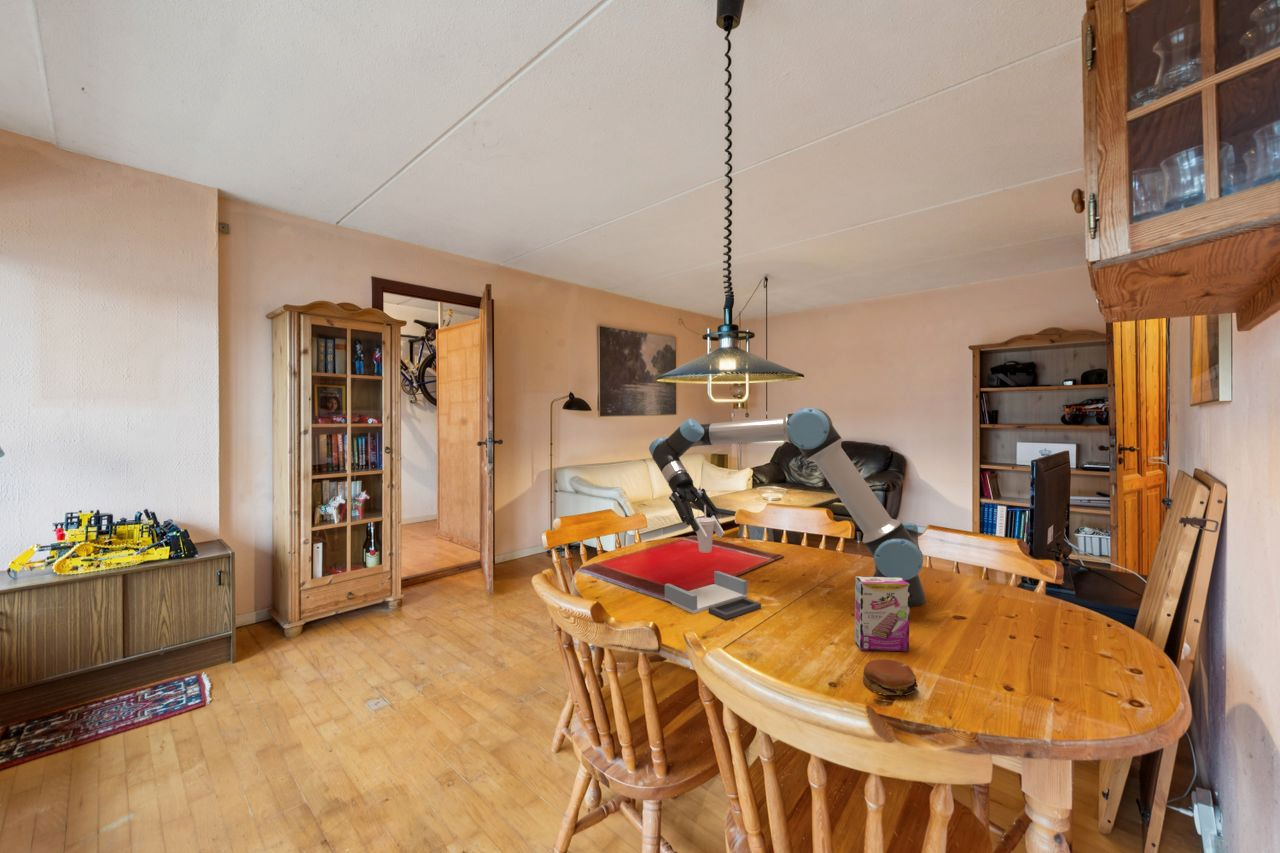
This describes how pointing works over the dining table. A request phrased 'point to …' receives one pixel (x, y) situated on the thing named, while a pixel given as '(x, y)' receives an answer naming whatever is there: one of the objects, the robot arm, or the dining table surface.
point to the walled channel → (707, 593)
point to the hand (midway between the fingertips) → (713, 537)
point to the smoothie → (708, 528)
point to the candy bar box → (882, 613)
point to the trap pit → (734, 608)
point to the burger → (889, 677)
